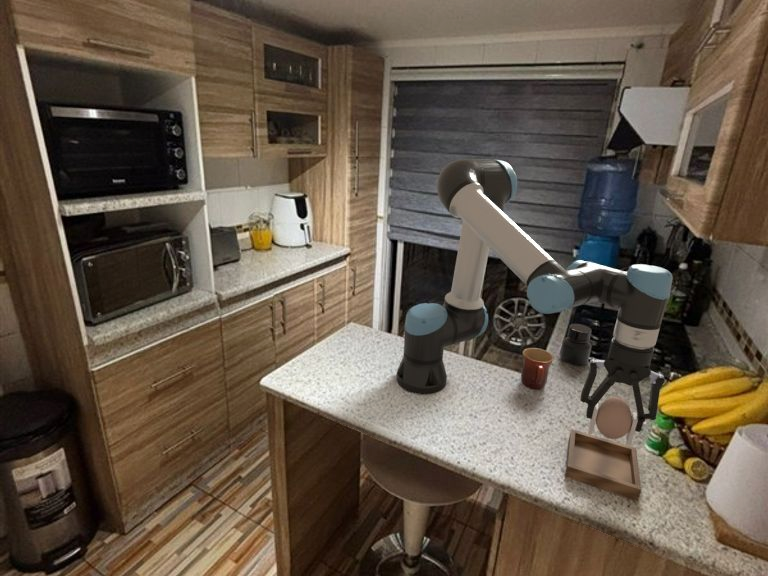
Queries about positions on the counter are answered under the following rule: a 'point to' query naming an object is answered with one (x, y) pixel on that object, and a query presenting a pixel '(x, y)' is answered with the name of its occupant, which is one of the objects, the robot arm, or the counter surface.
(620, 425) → the egg
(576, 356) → the ink bottle
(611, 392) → the counter surface
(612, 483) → the tray
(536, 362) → the mug
